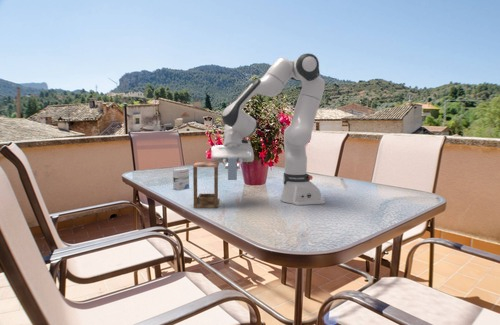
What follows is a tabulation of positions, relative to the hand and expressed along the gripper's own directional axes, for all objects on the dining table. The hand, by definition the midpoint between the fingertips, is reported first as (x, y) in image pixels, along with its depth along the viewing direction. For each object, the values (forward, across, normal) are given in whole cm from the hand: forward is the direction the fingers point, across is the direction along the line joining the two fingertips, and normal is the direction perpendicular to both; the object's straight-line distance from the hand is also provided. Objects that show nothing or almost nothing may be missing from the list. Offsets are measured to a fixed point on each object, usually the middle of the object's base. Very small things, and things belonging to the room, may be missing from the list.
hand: (232, 167), depth 138 cm
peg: (+3, 0, +4) cm, 5 cm away
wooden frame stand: (+9, -12, +17) cm, 23 cm away
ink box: (-15, -31, +41) cm, 54 cm away
